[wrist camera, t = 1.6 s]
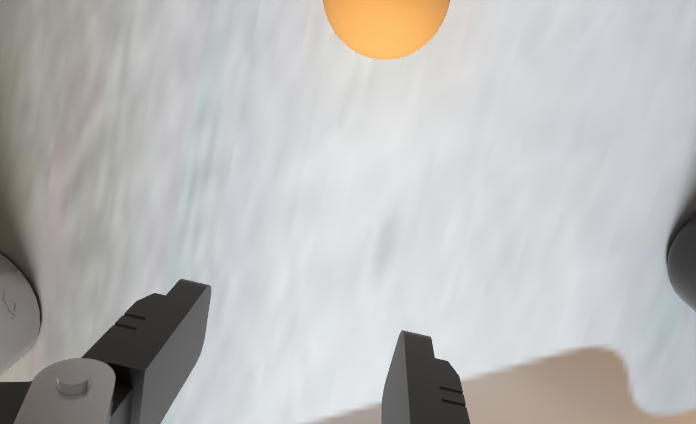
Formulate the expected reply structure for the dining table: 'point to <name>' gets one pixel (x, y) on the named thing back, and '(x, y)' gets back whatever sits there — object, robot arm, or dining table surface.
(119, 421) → the robot arm
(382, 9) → the ball
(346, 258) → the dining table surface
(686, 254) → the supplement bottle
